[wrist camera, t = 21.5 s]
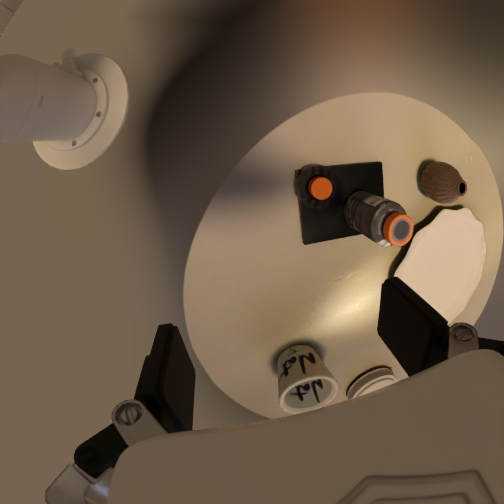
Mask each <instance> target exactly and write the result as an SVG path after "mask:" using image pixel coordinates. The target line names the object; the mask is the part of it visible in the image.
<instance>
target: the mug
mask: <svg viewBox="0 0 504 504" xmlns="http://www.w3.org/2000/svg"><path fill="white" fill-rule="evenodd" d="M278 389H279V404H280V406H281V407H282V409H284V410H285V411H287V412H290V413H304V412H308V411H312V410H316V409H319V408H323V407H324V406H325V405H327V404H328V403H329V402H330V401H331V400H333V398H334V397H335V396H336V394H337V391H338V383H337V381H336V379H335V378H334V377H333V375H332V374H331V373H330V371H329V370H328V368H327V367H326V366H325V364H324V363H323V362H322V360H321V359H320V357H319V356H318V355H317V353H316V352H315V351H314V350H313V349H312V348H311V347H309V346H306V345H297V346H293V347H291V348H288V349H287V350H285V351H284V352H283V353H282V354H281V355H280V357H279V359H278Z"/></svg>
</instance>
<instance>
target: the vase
mask: <svg viewBox="0 0 504 504" xmlns="http://www.w3.org/2000/svg"><path fill="white" fill-rule="evenodd" d="M421 184H422V188H423V190H424V192H425V193H426V194H427V196H428V197H430V198H431V199H432V200H434V201H436V202H439V203H451V202H453V201H455V200H457V199H458V198H459V197H460V196H463V195H464V194H465V193H466V190H467V185H466V182H465V181H464V180H463V179H462V177H461V176H460V174H459V172H458V171H457V170H456V169H455V168H454V167H453V166H451V165H450V164H447V163H444V162H434V163H431V164H429V165H427V166H426V167H425V169H424V170H423V172H422V176H421Z"/></svg>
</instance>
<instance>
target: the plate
mask: <svg viewBox="0 0 504 504" xmlns="http://www.w3.org/2000/svg"><path fill="white" fill-rule="evenodd" d="M485 257H486V245H485V241H484V231H483V225H482V222H480V221H479V220H477V219H476V218H475V217H474V215H473V214H472V212H471V211H470V209H469V208H466V207H464V208H461V209H457V210H451V209H443V210H441V211H440V212H439V213H438V214H437V216H436V217H435V218H434V219H433V220H432V221H431V222H430V223H429V224H428V225H426V226H425V227H423V228H422V229H420V230H419V231H417V233H416V234H415V235H414V237H413V238H412V241H411V244H410V246H409V249H408V251H407V253H406V255H405V257H404V258H403V260H402V261H401V263H400V264H399V266H398V267H397V269H396V270H395V273H394V276H393V277H398V278H400V279H401V280H402V281H403V282H404V283H406V284H407V285H408V286H409V287H410V288H411V289H413V290H414V291H415V292H416V293H417V294H418V295H419V296H421V297H422V298H423V299H424V300H425V301H426V302H427V303H428V304H430V305H431V306H432V307H433V308H434V309H435V310H436V311H437V312H438V313H439V314H441V315H442V316H443V317H444V318H445V319H446V320H447V321H448V324H449V323H450V322H451V321H452V320H453V319H454V318H455V317H456V316H457V315H459V314H460V313H461V312H462V311H463V310H464V309H465V307H466V305H467V303H468V301H469V300H470V298H471V295H472V294H473V292H474V291H475V289H476V288H477V286H478V284H479V282H480V279H481V273H482V267H483V264H484V260H485Z"/></svg>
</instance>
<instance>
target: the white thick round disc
mask: <svg viewBox="0 0 504 504" xmlns="http://www.w3.org/2000/svg"><path fill="white" fill-rule="evenodd" d="M396 382H398V380H397V378H396V376H394V375H393V372H392V370H390V369H388V368H379V369H376V370H373V371H371V372H369V373H367V374H365V375H363V376H362V377H360V378H359V379H358V380H357V381H356V382H355V383H354V384H353V385H352V386H351V387H350V389H349V391H348V394H347V398H348V400H350V399H353V398H356V397H359V396H362V395H364V394H367V393H370V392H373V391H376V390H378V389H381V388H384V387H386V386H389V385H391V384H394V383H396Z"/></svg>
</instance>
